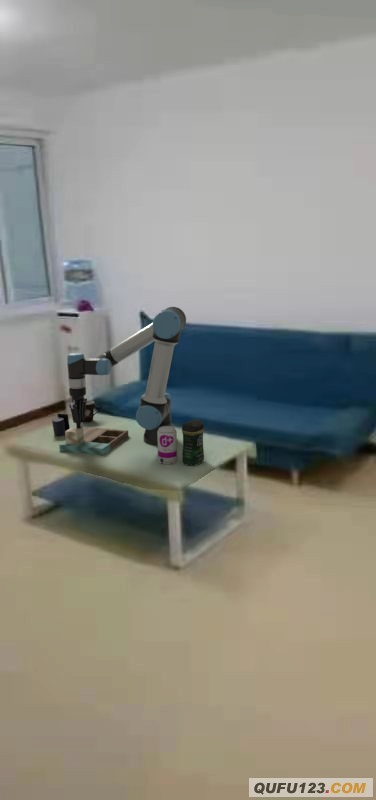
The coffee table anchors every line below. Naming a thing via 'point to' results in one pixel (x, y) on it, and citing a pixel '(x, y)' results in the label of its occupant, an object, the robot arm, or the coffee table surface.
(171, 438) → the supplement can
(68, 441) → the birch block
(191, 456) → the coffee jar
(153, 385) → the robot arm
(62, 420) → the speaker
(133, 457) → the coffee table surface
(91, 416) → the coffee mug
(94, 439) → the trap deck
